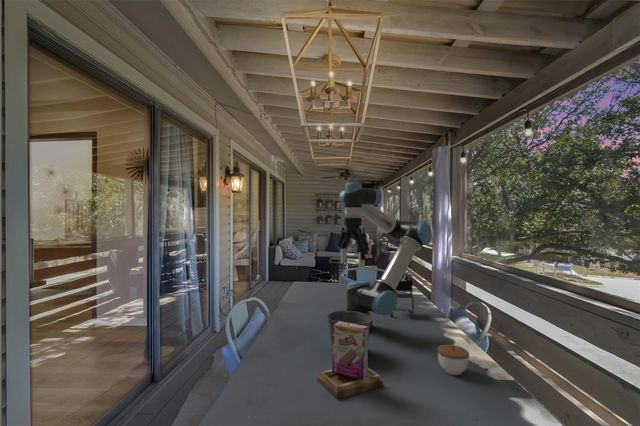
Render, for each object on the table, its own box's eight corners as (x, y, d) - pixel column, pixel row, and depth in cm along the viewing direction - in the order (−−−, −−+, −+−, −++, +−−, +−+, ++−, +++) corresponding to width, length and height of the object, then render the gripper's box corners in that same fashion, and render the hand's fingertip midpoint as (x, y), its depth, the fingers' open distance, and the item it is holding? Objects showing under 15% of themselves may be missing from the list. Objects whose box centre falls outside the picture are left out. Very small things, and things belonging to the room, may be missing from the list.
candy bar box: (331, 373, 109) (332, 324, 109) (337, 367, 114) (338, 320, 114) (363, 381, 105) (364, 330, 105) (367, 374, 109) (369, 325, 109)
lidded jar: (433, 364, 125) (433, 339, 125) (461, 365, 125) (461, 340, 125) (442, 377, 114) (443, 351, 114) (473, 379, 114) (474, 352, 114)
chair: (411, 310, 196) (411, 274, 196) (414, 319, 179) (414, 279, 179) (389, 309, 198) (390, 273, 198) (390, 317, 181) (390, 278, 181)
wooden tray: (359, 369, 119) (359, 360, 119) (382, 385, 108) (383, 376, 108) (316, 380, 110) (316, 371, 110) (337, 399, 99) (337, 389, 99)
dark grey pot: (340, 366, 121) (341, 326, 121) (319, 348, 137) (319, 313, 137) (378, 357, 129) (379, 320, 129) (354, 342, 145) (355, 308, 145)
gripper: (330, 216, 153) (330, 261, 153) (363, 217, 131) (362, 270, 131) (343, 216, 157) (343, 260, 157) (377, 217, 135) (377, 268, 135)
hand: (352, 265), depth 144 cm, fingers open, 13 cm apart
